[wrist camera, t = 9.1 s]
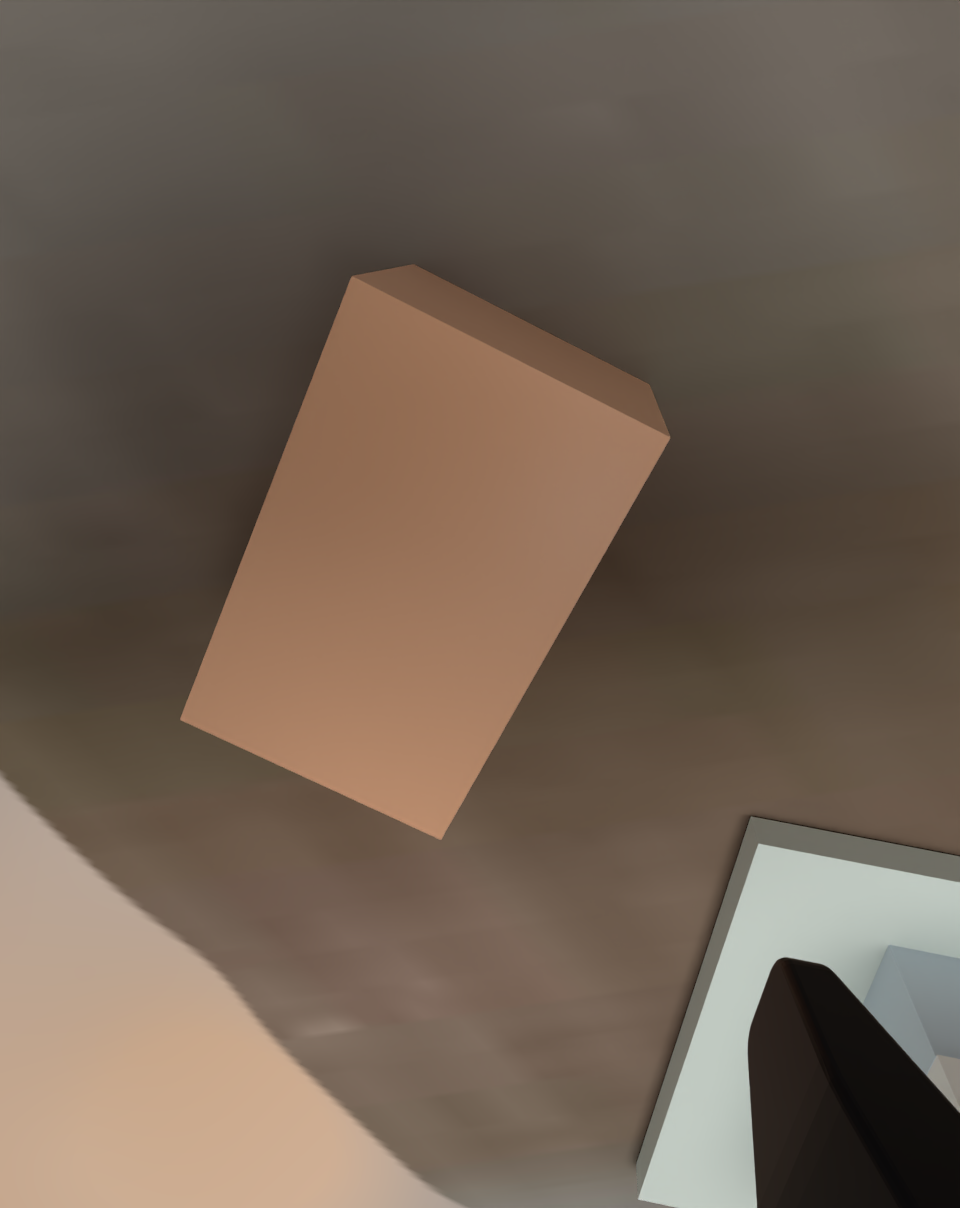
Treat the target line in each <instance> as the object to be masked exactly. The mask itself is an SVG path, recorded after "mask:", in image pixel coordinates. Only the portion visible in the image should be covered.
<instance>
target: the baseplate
mask: <svg viewBox="0 0 960 1208" xmlns="http://www.w3.org/2000/svg"><path fill="white" fill-rule="evenodd" d="M783 957H789V958H794V959H799V960H804V961H809V962H814V963H819V964H823V965H825V966H827V967H829V968H830V969H831V970H832V971H833V972H834V973H835V974H836V975H837V976H838V977H839V978H840V979H841V980H842V981H843V983H844V984H845V985H846V986H847V987H848V988H849V989H850V990H851V991H852V993H853V994H854V995H855V996H856V997H857V998H858V999H859V1000H860V1002H861V1003H862V1004H863V1005H864V1006H865V1007H866V1008H867V1009H868V1010H869V1012H870V1013H871V1014H872V1015H873V1016H874V1017H875V1018H876V1019H877V1021H878V1022H879V1023H880V1024H881V1025H882V1026H883V1027H884V1028H885V1030H886V1031H887V1032H888V1033H889V1034H890V1035H891V1036H892V1037H893V1038H894V1040H895V1041H896V1042H897V1043H898V1044H899V1045H900V1046H901V1047H902V1049H903V1050H904V1051H905V1052H906V1053H907V1054H908V1055H909V1056H910V1057H911V1059H912V1060H913V1061H914V1062H915V1063H916V1064H917V1065H918V1066H919V1068H920V1069H921V1070H922V1071H923V1072H924V1073H925V1074H926V1075H927V1074H928V1072H929V1070H930V1068H931V1066H932V1064H933V1062H934V1060H935V1058H936V1056H937V1055H942V1056H947V1057H952V1058H957V1059H960V856H955V855H950V854H944V853H939V852H934V851H929V850H924V849H918V848H913V847H908V846H903V845H897V844H892V843H887V842H882V841H877V840H871V839H866V838H861V837H856V836H851V835H845V834H840V833H835V832H830V831H825V830H819V829H814V828H809V827H804V826H799V825H793V824H788V823H783V822H778V821H772V820H767V819H762V818H757V817H752V816H751V817H750V820H749V823H748V826H747V829H746V832H745V835H744V838H743V841H742V844H741V848H740V851H739V854H738V857H737V860H736V863H735V866H734V869H733V872H732V875H731V878H730V881H729V884H728V887H727V890H726V893H725V896H724V899H723V902H722V905H721V908H720V911H719V914H718V917H717V920H716V923H715V926H714V929H713V932H712V935H711V939H710V942H709V945H708V948H707V951H706V954H705V957H704V960H703V963H702V966H701V969H700V972H699V975H698V978H697V981H696V984H695V987H694V990H693V993H692V996H691V999H690V1002H689V1005H688V1008H687V1011H686V1014H685V1017H684V1020H683V1023H682V1027H681V1030H680V1033H679V1036H678V1039H677V1042H676V1045H675V1048H674V1051H673V1054H672V1057H671V1060H670V1063H669V1066H668V1069H667V1072H666V1075H665V1078H664V1081H663V1084H662V1087H661V1090H660V1093H659V1096H658V1099H657V1102H656V1105H655V1108H654V1111H653V1114H652V1118H651V1121H650V1124H649V1127H648V1130H647V1133H646V1136H645V1139H644V1142H643V1145H642V1148H641V1151H640V1154H639V1157H638V1160H637V1163H636V1172H637V1191H638V1199H639V1200H644V1201H648V1202H653V1203H658V1204H663V1205H667V1206H672V1207H677V1208H757V1198H756V1182H755V1166H754V1150H753V1134H752V1118H751V1103H750V1087H749V1071H748V1037H749V1031H750V1026H751V1023H752V1020H753V1017H754V1015H755V1012H756V1009H757V1006H758V1004H759V1001H760V998H761V995H762V993H763V990H764V987H765V984H766V982H767V979H768V976H769V973H770V971H771V968H772V966H773V965H774V963H775V962H776V961H777V960H778V959H780V958H783Z"/></svg>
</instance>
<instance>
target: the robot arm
mask: <svg viewBox="0 0 960 1208" xmlns="http://www.w3.org/2000/svg"><path fill="white" fill-rule="evenodd" d="M748 1071H749V1087H750V1103H751V1118H752V1134H753V1150H754V1166H755V1182H756V1198H757V1208H960V1112H959V1111H958V1110H957V1109H956V1108H955V1107H954V1106H953V1104H952V1103H951V1102H950V1101H949V1100H948V1099H947V1098H946V1097H945V1095H944V1094H943V1093H942V1092H941V1091H940V1090H939V1089H938V1088H937V1087H936V1085H935V1084H934V1083H933V1082H932V1081H931V1080H930V1079H929V1078H928V1076H927V1075H926V1074H925V1073H924V1072H923V1071H922V1070H921V1069H920V1068H919V1066H918V1065H917V1064H916V1063H915V1062H914V1061H913V1060H912V1059H911V1057H910V1056H909V1055H908V1054H907V1053H906V1052H905V1051H904V1050H903V1049H902V1047H901V1046H900V1045H899V1044H898V1043H897V1042H896V1041H895V1040H894V1038H893V1037H892V1036H891V1035H890V1034H889V1033H888V1032H887V1031H886V1030H885V1028H884V1027H883V1026H882V1025H881V1024H880V1023H879V1022H878V1021H877V1019H876V1018H875V1017H874V1016H873V1015H872V1014H871V1013H870V1012H869V1010H868V1009H867V1008H866V1007H865V1006H864V1005H863V1004H862V1003H861V1002H860V1000H859V999H858V998H857V997H856V996H855V995H854V994H853V993H852V991H851V990H850V989H849V988H848V987H847V986H846V985H845V984H844V983H843V981H842V980H841V979H840V978H839V977H838V976H837V975H836V974H835V973H834V972H833V971H832V970H831V969H830V968H829V967H827V966H825V965H823V964H819V963H814V962H809V961H804V960H799V959H794V958H789V957H783V958H780V959H778V960H777V961H776V962H775V963H774V965H773V966H772V968H771V971H770V973H769V976H768V979H767V982H766V984H765V987H764V990H763V993H762V995H761V998H760V1001H759V1004H758V1006H757V1009H756V1012H755V1015H754V1017H753V1020H752V1023H751V1026H750V1031H749V1037H748Z"/></svg>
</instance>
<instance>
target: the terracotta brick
mask: <svg viewBox="0 0 960 1208" xmlns="http://www.w3.org/2000/svg"><path fill="white" fill-rule="evenodd" d="M670 438H671V437H670V435H669V432H668V430H667V427H666V425H665V422H664V420H663V417H662V415H661V412H660V410H659V407H658V405H657V402H656V400H655V397H654V395H653V392H652V390H651V387H650V385H649V384H648V383H646V382H644V381H642V380H640V379H638V378H636V377H634V376H632V375H630V374H628V373H626V372H624V371H622V370H620V369H618V368H616V367H614V366H612V365H610V364H609V363H607V362H605V361H603V360H601V359H599V358H597V357H595V356H593V355H591V354H589V353H587V352H585V351H583V350H581V349H579V348H577V347H575V346H573V345H571V344H569V343H567V342H565V341H563V340H561V339H559V338H558V337H556V336H554V335H552V334H550V333H548V332H546V331H544V330H542V329H540V328H538V327H536V326H534V325H532V324H530V323H528V322H526V321H524V320H522V319H520V318H518V317H516V316H514V315H512V314H510V313H509V312H507V311H505V310H503V309H501V308H499V307H497V306H495V305H493V304H491V303H489V302H487V301H485V300H483V299H481V298H479V297H477V296H475V295H473V294H471V293H469V292H467V291H465V290H463V289H461V288H459V287H458V286H456V285H454V284H452V283H450V282H448V281H446V280H444V279H442V278H440V277H438V276H436V275H434V274H432V273H430V272H428V271H426V270H424V269H422V268H420V267H418V266H416V265H414V264H412V265H406V266H401V267H396V268H391V269H386V270H380V271H375V272H370V273H365V274H359V275H354V276H352V277H351V279H350V282H349V284H348V287H347V289H346V292H345V295H344V297H343V300H342V302H341V305H340V308H339V310H338V313H337V315H336V318H335V320H334V323H333V326H332V328H331V331H330V333H329V336H328V339H327V341H326V344H325V346H324V349H323V351H322V354H321V357H320V359H319V362H318V364H317V367H316V370H315V372H314V375H313V377H312V380H311V382H310V385H309V388H308V390H307V393H306V395H305V398H304V401H303V403H302V406H301V408H300V411H299V413H298V416H297V419H296V421H295V424H294V426H293V429H292V432H291V434H290V437H289V439H288V442H287V444H286V447H285V450H284V452H283V455H282V457H281V460H280V463H279V465H278V468H277V470H276V473H275V475H274V478H273V481H272V483H271V486H270V488H269V491H268V494H267V496H266V499H265V501H264V504H263V506H262V509H261V512H260V514H259V517H258V519H257V522H256V525H255V527H254V530H253V532H252V535H251V537H250V540H249V543H248V545H247V548H246V550H245V553H244V556H243V558H242V561H241V563H240V566H239V568H238V571H237V574H236V576H235V579H234V581H233V584H232V587H231V589H230V592H229V594H228V597H227V599H226V602H225V605H224V607H223V610H222V612H221V615H220V618H219V620H218V623H217V625H216V628H215V630H214V633H213V636H212V638H211V641H210V643H209V646H208V649H207V651H206V654H205V656H204V659H203V661H202V664H201V667H200V669H199V672H198V674H197V677H196V680H195V682H194V685H193V687H192V690H191V692H190V695H189V698H188V700H187V703H186V705H185V708H184V711H183V713H182V716H181V718H180V720H182V721H184V722H186V723H188V724H190V725H192V726H195V727H197V728H199V729H201V730H203V731H205V732H208V733H210V734H212V735H214V736H216V737H218V738H221V739H223V740H225V741H227V742H229V743H232V744H234V745H236V746H238V747H240V748H242V749H245V750H247V751H249V752H251V753H253V754H255V755H258V756H260V757H262V758H264V759H266V760H268V761H271V762H273V763H275V764H277V765H279V766H281V767H284V768H286V769H288V770H290V771H292V772H294V773H297V774H299V775H301V776H303V777H305V778H308V779H310V780H312V781H314V782H316V783H318V784H321V785H323V786H325V787H327V788H329V789H331V790H334V791H336V792H338V793H340V794H342V795H344V796H347V797H349V798H351V799H353V800H355V801H357V802H360V803H362V804H364V805H366V806H368V807H370V808H373V809H375V810H377V811H379V812H381V813H383V814H386V815H388V816H390V817H392V818H394V819H397V820H399V821H401V822H403V823H405V824H407V825H410V826H412V827H414V828H416V829H418V830H420V831H423V832H425V833H427V834H429V835H431V836H433V837H436V838H438V839H440V840H441V839H442V837H443V835H444V833H445V832H446V830H447V828H448V826H449V825H450V823H451V821H452V819H453V818H454V816H455V814H456V812H457V811H458V809H459V807H460V805H461V804H462V802H463V800H464V798H465V797H466V795H467V793H468V791H469V790H470V788H471V786H472V784H473V783H474V781H475V779H476V777H477V776H478V774H479V772H480V770H481V769H482V767H483V765H484V763H485V762H486V760H487V758H488V756H489V755H490V753H491V751H492V749H493V748H494V746H495V744H496V742H497V741H498V739H499V737H500V735H501V734H502V732H503V730H504V728H505V727H506V725H507V723H508V721H509V720H510V718H511V716H512V714H513V713H514V711H515V709H516V707H517V706H518V704H519V702H520V700H521V699H522V697H523V695H524V693H525V692H526V690H527V688H528V686H529V685H530V683H531V681H532V679H533V678H534V676H535V674H536V672H537V671H538V669H539V667H540V665H541V664H542V662H543V660H544V658H545V657H546V655H547V653H548V651H549V650H550V648H551V646H552V644H553V643H554V641H555V639H556V637H557V636H558V634H559V632H560V630H561V629H562V627H563V625H564V623H565V622H566V620H567V618H568V616H569V615H570V613H571V611H572V609H573V608H574V606H575V604H576V602H577V601H578V599H579V597H580V595H581V594H582V592H583V590H584V588H585V587H586V585H587V583H588V581H589V580H590V578H591V576H592V574H593V573H594V571H595V569H596V567H597V566H598V564H599V562H600V560H601V559H602V557H603V555H604V553H605V552H606V550H607V548H608V546H609V545H610V543H611V541H612V539H613V538H614V536H615V534H616V532H617V531H618V529H619V527H620V525H621V524H622V522H623V520H624V518H625V517H626V515H627V513H628V511H629V510H630V508H631V506H632V504H633V503H634V501H635V499H636V497H637V496H638V494H639V492H640V490H641V489H642V487H643V485H644V483H645V482H646V480H647V478H648V476H649V475H650V473H651V471H652V469H653V468H654V466H655V464H656V462H657V461H658V459H659V457H660V455H661V454H662V452H663V450H664V448H665V447H666V445H667V443H668V441H669V440H670Z"/></svg>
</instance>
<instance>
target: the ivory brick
mask: <svg viewBox="0 0 960 1208" xmlns="http://www.w3.org/2000/svg"><path fill="white" fill-rule="evenodd" d="M927 1076H928V1078H929V1079H930V1080H931V1081H932V1082H933V1083H934V1084H935V1085H936V1087H937V1088H938V1089H939V1090H940V1091H941V1092H942V1093H943V1094H944V1095H945V1097H946V1098H947V1099H948V1100H949V1101H950V1102H951V1103H952V1104H953V1106H954V1107H955V1108H956V1109H957V1110H958V1111H959V1112H960V1059H957V1058H952V1057H947V1056H942V1055H937V1056H936V1058H935V1060H934V1062H933V1064H932V1066H931V1068H930V1070H929V1072H928V1074H927Z"/></svg>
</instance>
